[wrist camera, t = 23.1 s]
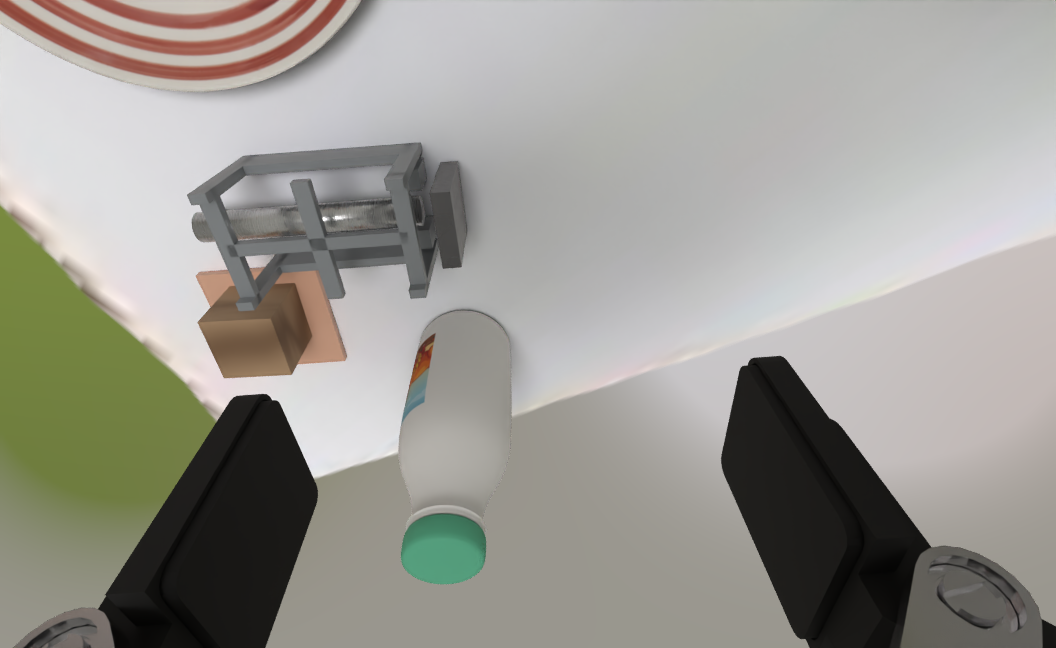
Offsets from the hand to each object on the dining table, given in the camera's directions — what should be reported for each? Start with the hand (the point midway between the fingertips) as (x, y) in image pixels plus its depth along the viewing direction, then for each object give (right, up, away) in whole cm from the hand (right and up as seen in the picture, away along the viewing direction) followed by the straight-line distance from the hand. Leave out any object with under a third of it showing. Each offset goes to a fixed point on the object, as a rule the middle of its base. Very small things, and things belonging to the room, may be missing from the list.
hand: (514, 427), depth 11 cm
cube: (-20, +3, +30) cm, 37 cm away
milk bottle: (-5, 0, +34) cm, 34 cm away
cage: (-13, +11, +26) cm, 31 cm away
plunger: (-13, +11, +26) cm, 31 cm away
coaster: (-20, +3, +31) cm, 37 cm away
